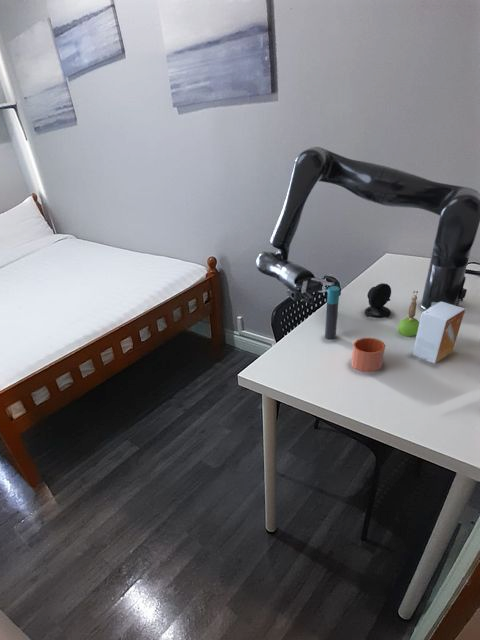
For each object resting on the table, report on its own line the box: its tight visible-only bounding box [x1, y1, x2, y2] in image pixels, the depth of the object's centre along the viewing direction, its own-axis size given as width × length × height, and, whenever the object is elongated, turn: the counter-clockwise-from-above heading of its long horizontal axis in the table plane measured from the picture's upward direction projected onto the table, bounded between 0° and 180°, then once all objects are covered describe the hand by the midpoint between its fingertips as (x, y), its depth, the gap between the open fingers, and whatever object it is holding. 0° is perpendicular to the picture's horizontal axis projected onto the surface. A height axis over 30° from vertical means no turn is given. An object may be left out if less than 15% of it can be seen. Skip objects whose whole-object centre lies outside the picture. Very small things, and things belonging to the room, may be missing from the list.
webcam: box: [364, 282, 392, 319], centre depth 123 cm, size 8×8×10 cm
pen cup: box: [350, 337, 386, 373], centre depth 104 cm, size 7×7×6 cm
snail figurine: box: [397, 290, 420, 338], centre depth 111 cm, size 5×6×12 cm
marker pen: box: [324, 286, 341, 341], centre depth 114 cm, size 3×3×16 cm
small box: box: [412, 302, 466, 364], centre depth 102 cm, size 8×6×13 cm
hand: (326, 297), depth 114 cm, fingers open, 8 cm apart
